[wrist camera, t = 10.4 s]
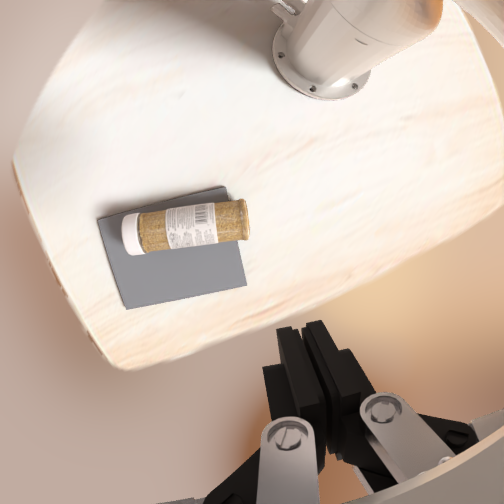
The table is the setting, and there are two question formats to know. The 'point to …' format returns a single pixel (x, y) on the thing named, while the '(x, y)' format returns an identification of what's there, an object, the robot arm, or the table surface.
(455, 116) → the table surface
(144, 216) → the sprinkles bottle
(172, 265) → the mat
